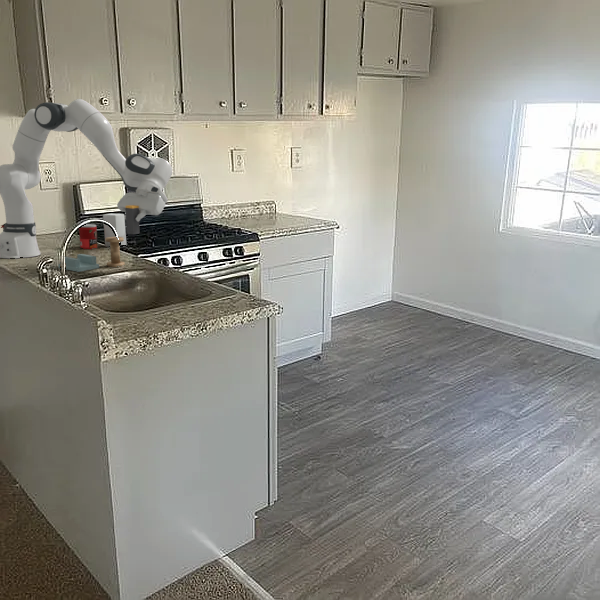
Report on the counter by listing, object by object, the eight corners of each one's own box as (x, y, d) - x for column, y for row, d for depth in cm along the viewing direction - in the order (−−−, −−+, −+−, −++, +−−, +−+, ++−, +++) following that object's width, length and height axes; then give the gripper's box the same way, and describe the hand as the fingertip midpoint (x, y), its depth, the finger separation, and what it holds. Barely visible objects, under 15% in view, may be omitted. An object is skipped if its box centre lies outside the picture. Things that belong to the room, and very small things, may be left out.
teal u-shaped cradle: (58, 267, 244) (57, 256, 242) (79, 264, 252) (78, 253, 251) (78, 271, 237) (77, 260, 236) (99, 267, 246) (98, 256, 244)
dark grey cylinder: (126, 233, 240) (125, 205, 237) (132, 232, 243) (131, 205, 240) (133, 234, 238) (132, 206, 236) (139, 233, 241) (138, 205, 239)
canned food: (92, 249, 286) (91, 226, 284) (76, 248, 288) (75, 225, 285) (100, 247, 294) (99, 224, 291) (85, 246, 295) (84, 223, 292)
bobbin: (104, 267, 248) (102, 238, 245) (110, 263, 254) (108, 236, 252) (121, 267, 247) (120, 239, 245) (127, 264, 254) (125, 237, 251)
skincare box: (126, 246, 299) (125, 214, 295) (117, 247, 293) (115, 215, 290) (114, 244, 303) (112, 212, 299) (104, 246, 297) (102, 213, 293)
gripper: (124, 186, 247) (107, 212, 241) (163, 189, 238) (147, 216, 232) (132, 196, 252) (115, 222, 246) (171, 200, 243) (155, 227, 237)
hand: (131, 220), depth 239 cm, fingers closed on dark grey cylinder, 3 cm apart
